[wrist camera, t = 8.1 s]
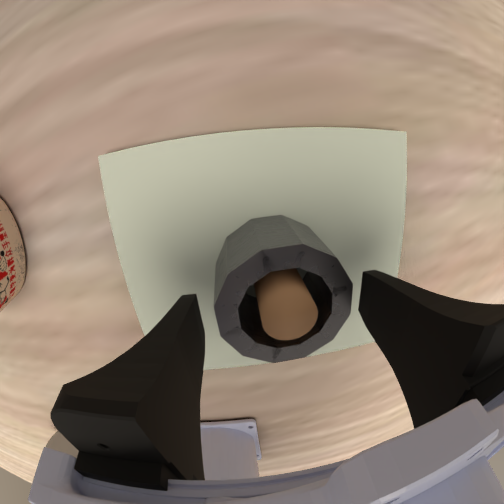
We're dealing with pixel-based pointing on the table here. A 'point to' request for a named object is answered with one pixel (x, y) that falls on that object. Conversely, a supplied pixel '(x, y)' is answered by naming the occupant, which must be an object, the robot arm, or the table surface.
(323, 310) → the collar
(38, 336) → the table surface
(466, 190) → the table surface
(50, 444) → the bent grey cylinder
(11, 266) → the teacup with lid
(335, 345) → the pegged green plate
